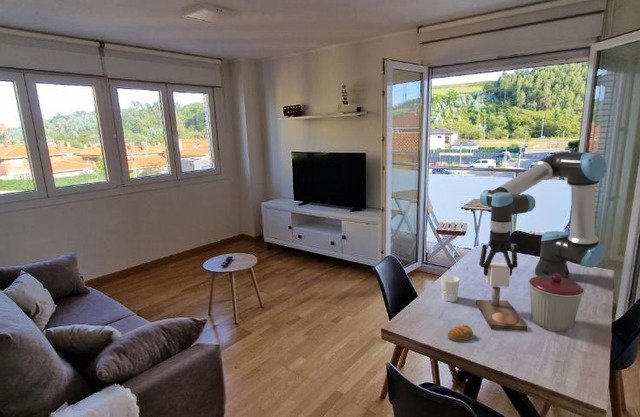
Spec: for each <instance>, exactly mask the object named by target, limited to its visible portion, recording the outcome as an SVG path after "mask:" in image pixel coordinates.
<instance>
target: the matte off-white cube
mask: <svg viewBox="0 0 640 417" xmlns="http://www.w3.org/2000/svg"><path fill="white" fill-rule="evenodd" d="M489 268H490V282H489V284H488V285H490V286H491V287H493V286H497V287H509V286H510V277H511V276H510V268H509V267H508V265H507V263H505V262H492V261H491V264H490V266H489Z"/></svg>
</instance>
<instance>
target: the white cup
mask: <svg viewBox="0 0 640 417" xmlns="http://www.w3.org/2000/svg"><path fill="white" fill-rule="evenodd" d="M440 288H441V289H440V291H441V299H442V300H443V301H444V302H448V301H450V303H451V302H452V303H454V302H457V300H458V295H459V294H458V293H459V288H460V278H459V277H458V276H456V275H451V274H446V275H445V274H444V275H442V276H441V277H440Z"/></svg>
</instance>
